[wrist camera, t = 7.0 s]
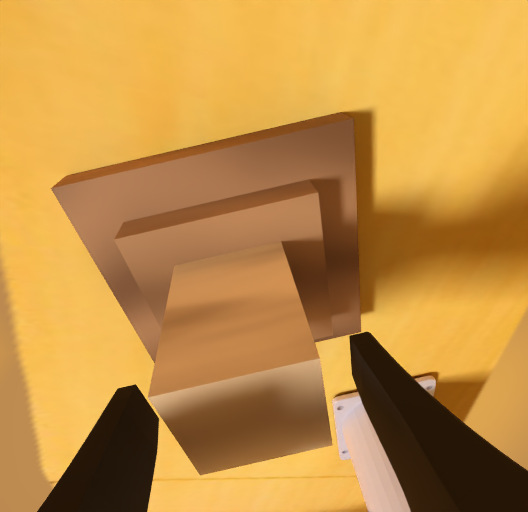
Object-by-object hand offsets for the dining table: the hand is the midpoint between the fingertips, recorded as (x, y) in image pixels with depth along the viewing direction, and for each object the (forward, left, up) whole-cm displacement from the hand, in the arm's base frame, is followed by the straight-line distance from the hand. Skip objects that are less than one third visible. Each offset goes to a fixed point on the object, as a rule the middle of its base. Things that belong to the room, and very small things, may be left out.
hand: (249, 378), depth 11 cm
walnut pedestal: (0, 0, -7) cm, 7 cm away
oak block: (0, 0, -4) cm, 4 cm away
